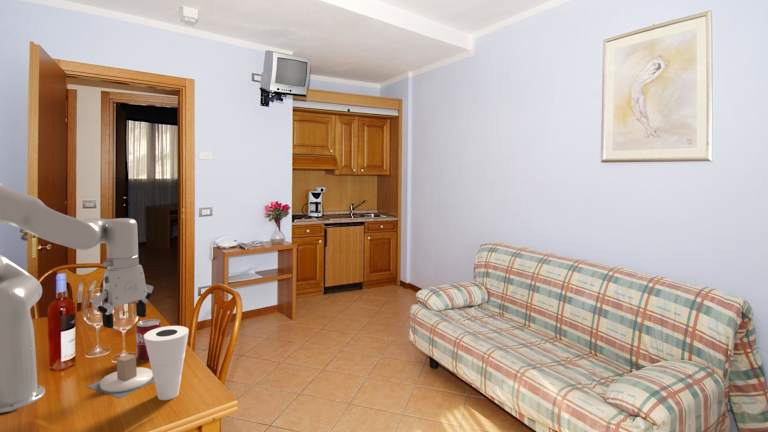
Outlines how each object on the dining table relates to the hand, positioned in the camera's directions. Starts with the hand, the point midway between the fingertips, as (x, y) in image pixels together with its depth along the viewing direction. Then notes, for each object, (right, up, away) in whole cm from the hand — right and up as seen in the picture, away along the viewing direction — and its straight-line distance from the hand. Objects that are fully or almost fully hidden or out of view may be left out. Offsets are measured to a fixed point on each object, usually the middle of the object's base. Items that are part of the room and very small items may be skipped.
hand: (125, 321), depth 120 cm
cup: (+15, -19, -5) cm, 25 cm away
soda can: (-3, -17, +18) cm, 25 cm away
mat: (-1, -18, +2) cm, 18 cm away
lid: (0, -17, +2) cm, 18 cm away
